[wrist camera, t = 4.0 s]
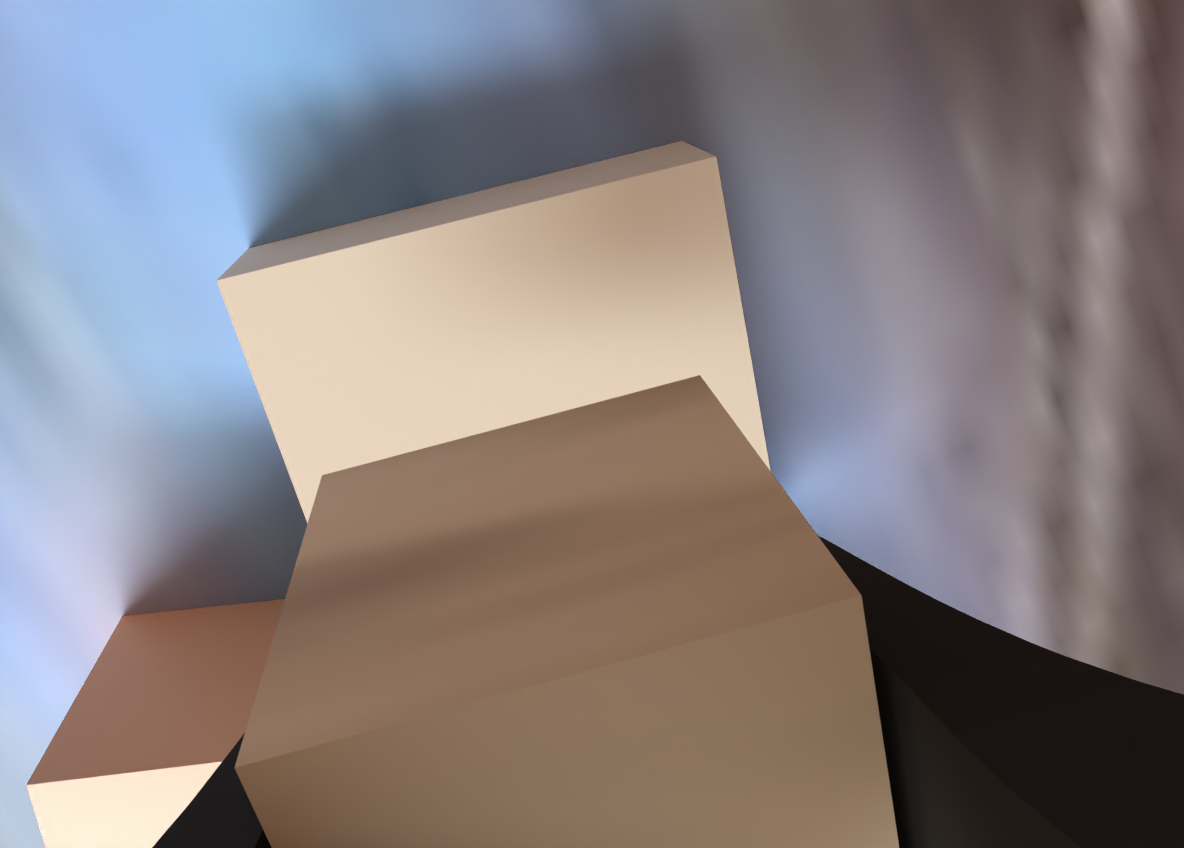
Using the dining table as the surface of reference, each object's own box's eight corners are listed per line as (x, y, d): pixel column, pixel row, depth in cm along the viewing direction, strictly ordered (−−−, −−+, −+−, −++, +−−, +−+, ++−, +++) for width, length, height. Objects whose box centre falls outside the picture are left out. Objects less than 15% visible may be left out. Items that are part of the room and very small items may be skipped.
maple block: (762, 686, 13) (925, 1028, 9) (433, 776, 13) (423, 1175, 9) (700, 374, 12) (861, 595, 7) (322, 474, 12) (234, 768, 7)
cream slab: (747, 515, 22) (790, 585, 19) (382, 610, 21) (371, 695, 19) (677, 138, 19) (716, 156, 16) (253, 244, 18) (216, 280, 16)
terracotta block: (378, 767, 22) (358, 958, 18) (168, 793, 22) (92, 996, 17) (351, 590, 21) (322, 749, 16) (123, 614, 20) (26, 785, 16)
